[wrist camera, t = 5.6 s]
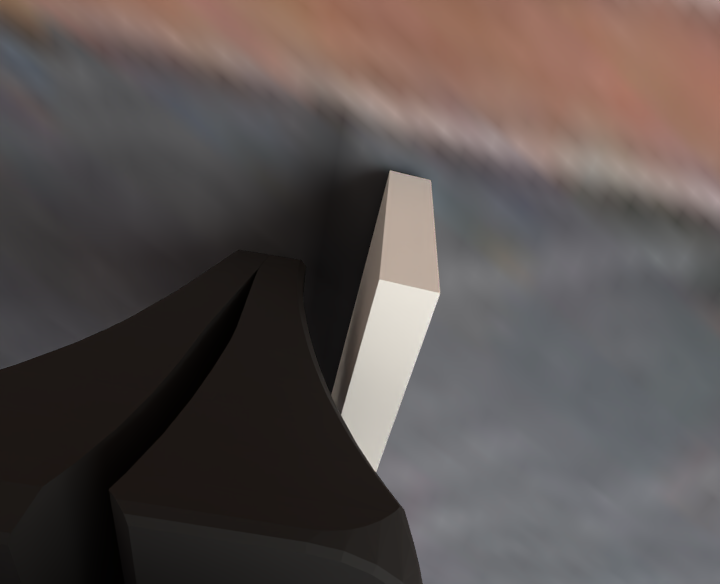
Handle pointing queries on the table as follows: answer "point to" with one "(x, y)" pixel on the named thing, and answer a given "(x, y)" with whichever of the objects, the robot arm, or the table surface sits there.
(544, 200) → the table surface
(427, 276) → the side door
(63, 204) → the table surface
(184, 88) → the table surface
